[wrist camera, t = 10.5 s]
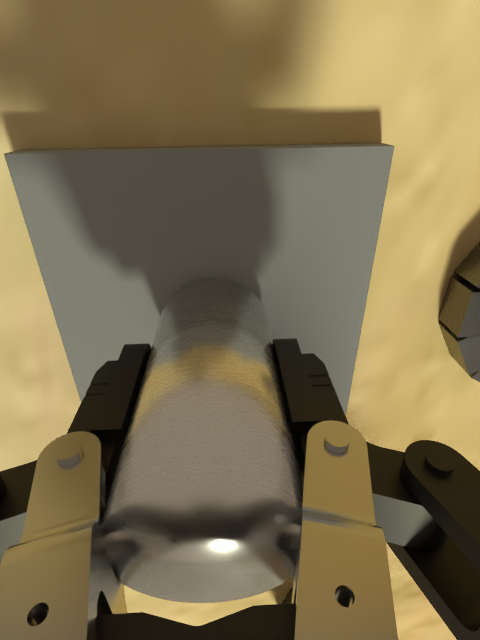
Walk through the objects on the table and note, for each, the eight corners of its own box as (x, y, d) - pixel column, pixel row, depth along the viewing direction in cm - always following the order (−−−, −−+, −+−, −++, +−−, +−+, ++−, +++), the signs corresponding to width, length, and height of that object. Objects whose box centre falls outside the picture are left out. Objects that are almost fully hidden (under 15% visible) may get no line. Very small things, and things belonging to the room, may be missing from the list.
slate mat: (382, 143, 12) (394, 145, 11) (338, 407, 18) (344, 421, 18) (19, 150, 12) (3, 153, 11) (97, 417, 18) (90, 433, 17)
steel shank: (268, 276, 13) (325, 476, 6) (266, 367, 15) (305, 597, 8) (153, 279, 13) (71, 488, 6) (166, 371, 15) (118, 608, 8)
